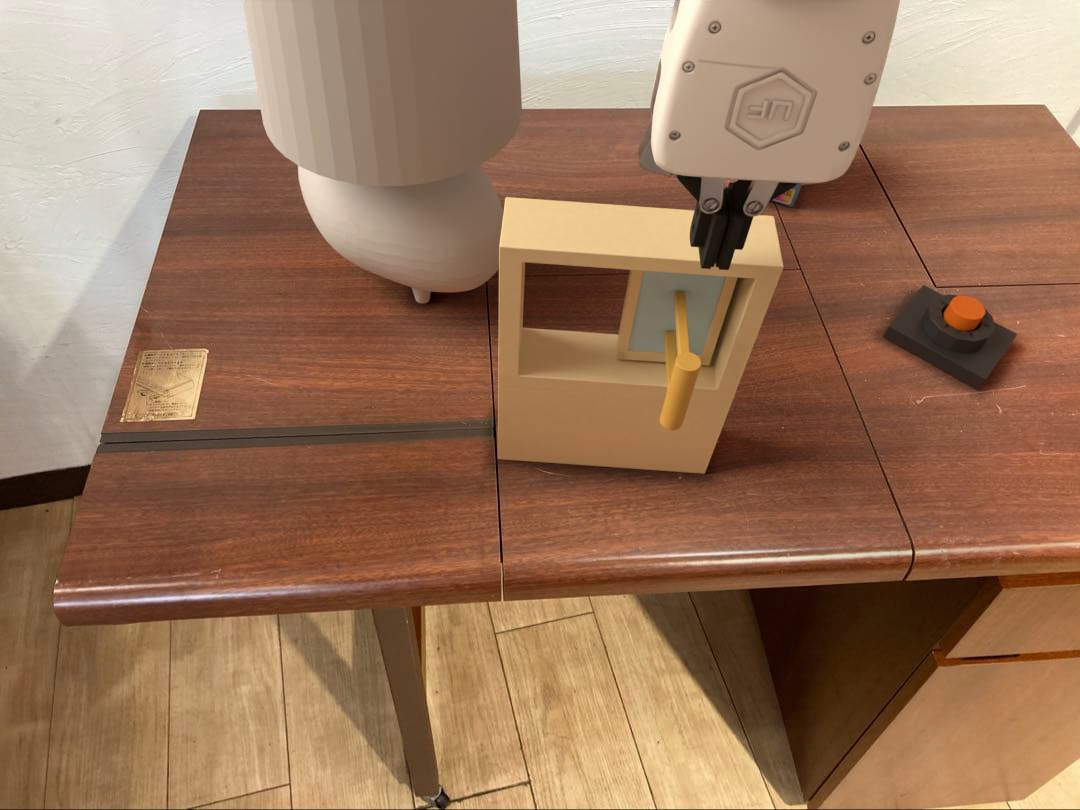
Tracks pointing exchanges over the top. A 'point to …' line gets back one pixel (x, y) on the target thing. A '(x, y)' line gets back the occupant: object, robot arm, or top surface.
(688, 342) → the sash
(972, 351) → the button box
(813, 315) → the top surface
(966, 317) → the button
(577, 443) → the window frame
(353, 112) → the table lamp
